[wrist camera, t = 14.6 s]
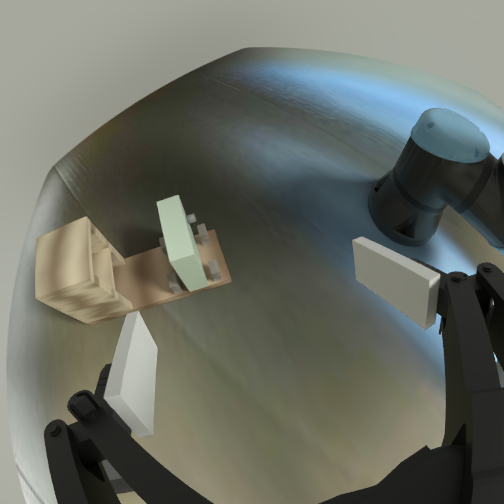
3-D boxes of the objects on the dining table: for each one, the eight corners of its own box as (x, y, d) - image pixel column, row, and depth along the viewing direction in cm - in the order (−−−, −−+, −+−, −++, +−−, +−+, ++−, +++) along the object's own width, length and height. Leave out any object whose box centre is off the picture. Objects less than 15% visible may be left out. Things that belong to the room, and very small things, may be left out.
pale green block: (200, 233, 45) (187, 191, 35) (216, 283, 42) (204, 250, 32) (176, 241, 45) (156, 201, 35) (189, 292, 41) (169, 262, 31)
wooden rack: (215, 233, 47) (201, 175, 34) (231, 281, 43) (221, 234, 30) (85, 277, 44) (36, 238, 30) (90, 325, 40) (35, 298, 27)
